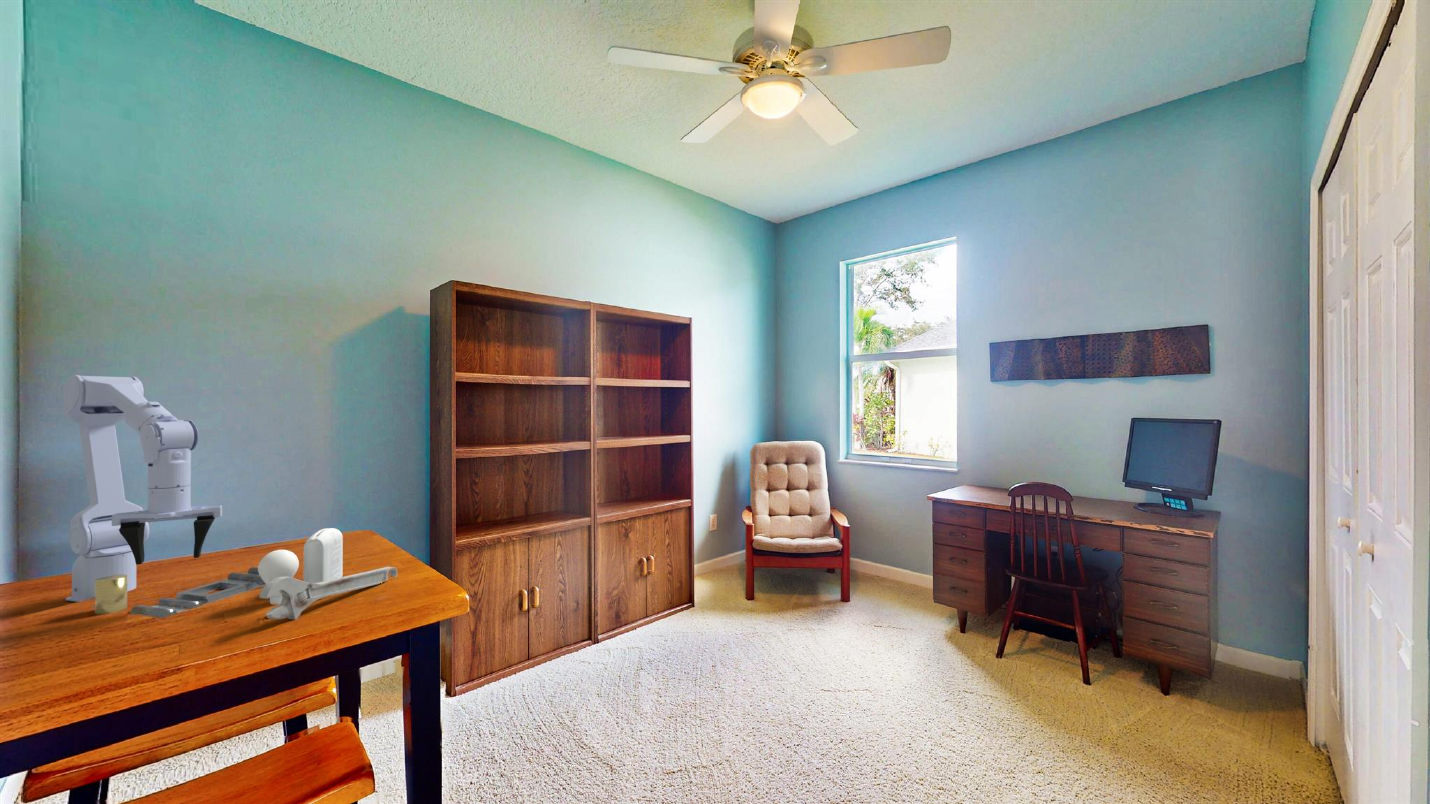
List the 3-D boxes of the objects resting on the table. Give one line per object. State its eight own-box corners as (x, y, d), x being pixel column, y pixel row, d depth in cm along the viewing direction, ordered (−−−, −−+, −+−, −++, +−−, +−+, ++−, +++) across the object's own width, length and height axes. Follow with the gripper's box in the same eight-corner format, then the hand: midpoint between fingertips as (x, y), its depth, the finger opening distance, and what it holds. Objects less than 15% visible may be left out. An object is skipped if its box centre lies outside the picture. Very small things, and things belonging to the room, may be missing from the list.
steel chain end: (128, 619, 101) (128, 607, 101) (221, 591, 116) (221, 581, 116) (162, 624, 99) (162, 612, 99) (253, 595, 114) (253, 584, 114)
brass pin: (89, 619, 101) (89, 580, 101) (117, 611, 105) (117, 573, 105) (104, 622, 100) (104, 582, 100) (132, 613, 104) (132, 575, 104)
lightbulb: (255, 608, 107) (255, 550, 107) (294, 600, 111) (295, 544, 111) (261, 617, 102) (261, 556, 102) (302, 608, 107) (302, 550, 107)
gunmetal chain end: (175, 605, 108) (175, 588, 108) (258, 580, 123) (257, 565, 123) (208, 609, 106) (208, 592, 106) (288, 584, 121) (288, 568, 121)
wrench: (396, 592, 125) (263, 630, 96) (388, 591, 125) (254, 629, 96) (399, 554, 126) (269, 581, 96) (392, 554, 126) (260, 580, 97)
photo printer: (323, 581, 122) (323, 524, 122) (345, 580, 123) (345, 523, 123) (299, 597, 112) (299, 535, 112) (323, 596, 113) (324, 534, 113)
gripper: (106, 492, 96) (105, 572, 97) (218, 486, 105) (217, 559, 105) (118, 487, 102) (118, 561, 102) (223, 481, 111) (223, 550, 111)
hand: (169, 559), depth 104 cm, fingers open, 7 cm apart
